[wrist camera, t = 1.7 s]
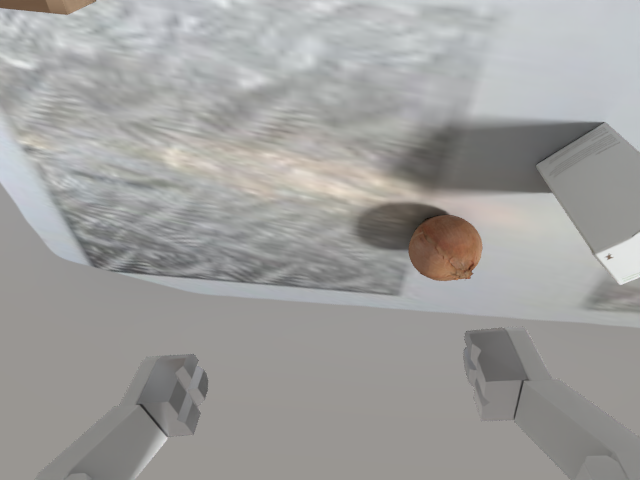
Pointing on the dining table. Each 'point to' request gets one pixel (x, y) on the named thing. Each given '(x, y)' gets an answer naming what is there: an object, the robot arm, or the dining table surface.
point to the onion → (445, 248)
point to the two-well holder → (46, 5)
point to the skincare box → (601, 196)
